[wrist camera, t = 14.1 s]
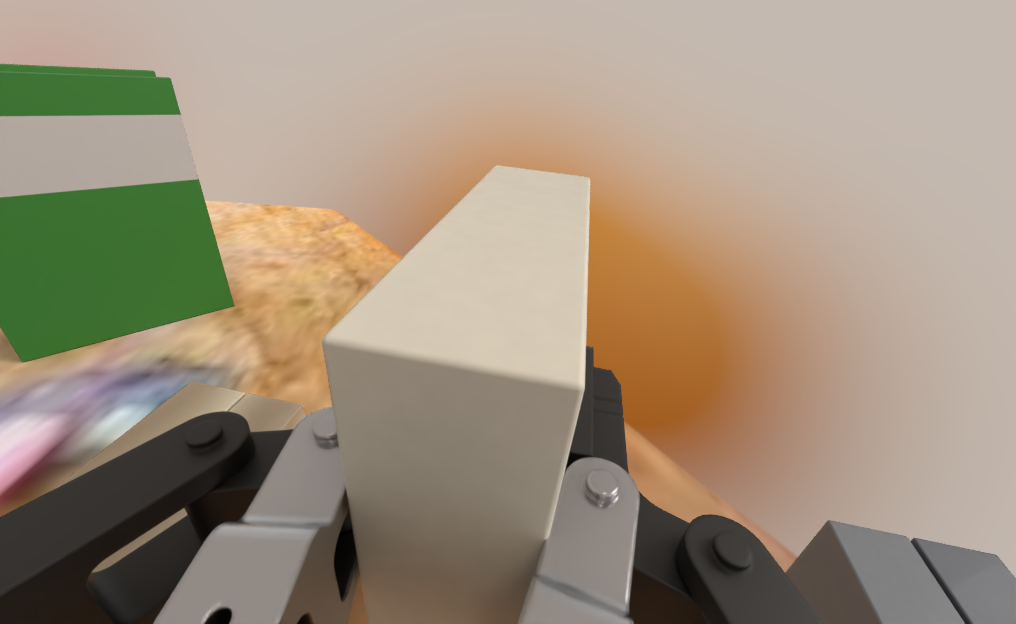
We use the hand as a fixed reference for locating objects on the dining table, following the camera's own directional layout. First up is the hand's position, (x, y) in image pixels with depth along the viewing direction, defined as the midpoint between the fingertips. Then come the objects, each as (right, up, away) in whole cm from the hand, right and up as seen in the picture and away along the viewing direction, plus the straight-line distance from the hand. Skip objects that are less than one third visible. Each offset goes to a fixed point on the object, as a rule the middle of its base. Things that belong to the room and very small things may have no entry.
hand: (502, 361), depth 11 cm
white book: (-1, -7, +4) cm, 8 cm away
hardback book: (-42, +1, +36) cm, 55 cm away
